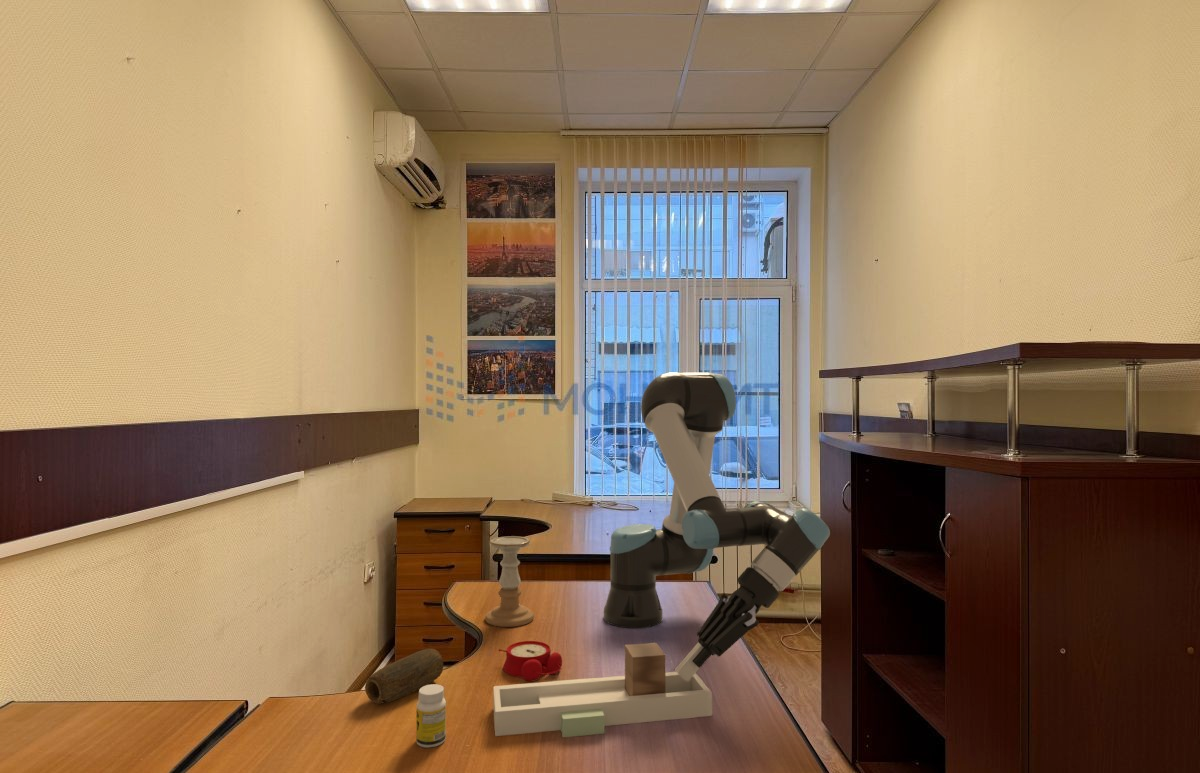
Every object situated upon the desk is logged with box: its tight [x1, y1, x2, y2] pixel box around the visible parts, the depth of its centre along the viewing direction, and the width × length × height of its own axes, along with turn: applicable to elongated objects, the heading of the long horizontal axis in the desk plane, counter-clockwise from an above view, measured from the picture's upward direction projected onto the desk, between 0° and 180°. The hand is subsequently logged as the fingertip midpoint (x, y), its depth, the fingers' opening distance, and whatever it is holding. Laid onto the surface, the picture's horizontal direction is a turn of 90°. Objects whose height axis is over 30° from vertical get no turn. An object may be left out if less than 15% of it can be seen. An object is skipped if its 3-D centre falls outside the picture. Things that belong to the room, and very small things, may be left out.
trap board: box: [492, 671, 713, 737], centre depth 117 cm, size 38×10×4 cm, turn 101°
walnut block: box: [624, 642, 666, 696], centre depth 119 cm, size 6×6×8 cm
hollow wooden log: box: [364, 648, 444, 705], centre depth 125 cm, size 15×7×7 cm, turn 150°
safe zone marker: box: [551, 677, 605, 738], centre depth 116 cm, size 7×15×3 cm, turn 11°
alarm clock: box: [498, 640, 563, 682], centre depth 135 cm, size 10×6×15 cm
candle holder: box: [484, 535, 535, 628], centre depth 167 cm, size 12×12×20 cm
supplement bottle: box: [415, 683, 447, 748], centre depth 107 cm, size 5×5×8 cm
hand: (681, 675), depth 120 cm, fingers closed
